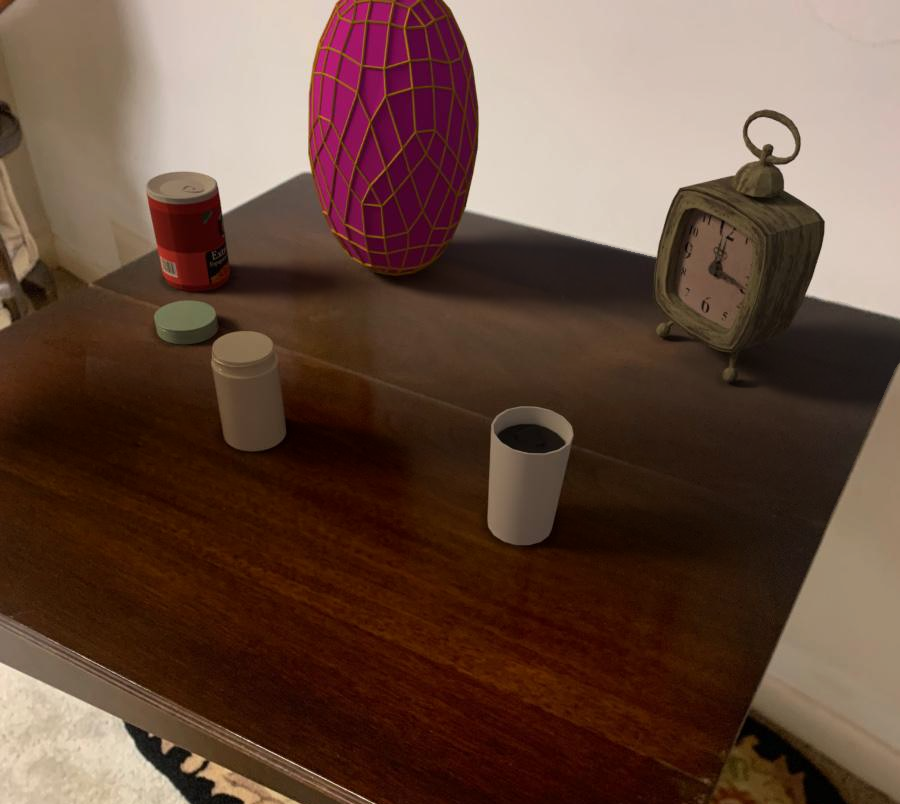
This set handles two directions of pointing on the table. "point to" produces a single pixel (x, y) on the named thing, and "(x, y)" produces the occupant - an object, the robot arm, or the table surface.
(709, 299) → the tabletop clock
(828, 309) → the table surface
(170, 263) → the canned food
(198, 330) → the lid
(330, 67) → the decorative egg
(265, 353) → the jar
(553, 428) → the white cup
